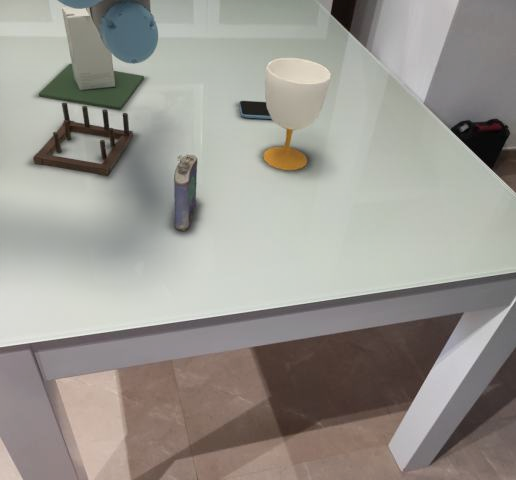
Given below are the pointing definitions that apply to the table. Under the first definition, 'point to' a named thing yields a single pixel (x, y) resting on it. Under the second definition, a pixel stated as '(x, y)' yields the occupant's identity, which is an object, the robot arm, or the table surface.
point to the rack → (68, 126)
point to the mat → (92, 90)
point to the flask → (185, 191)
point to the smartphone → (254, 109)
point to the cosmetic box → (87, 51)
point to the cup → (293, 103)
